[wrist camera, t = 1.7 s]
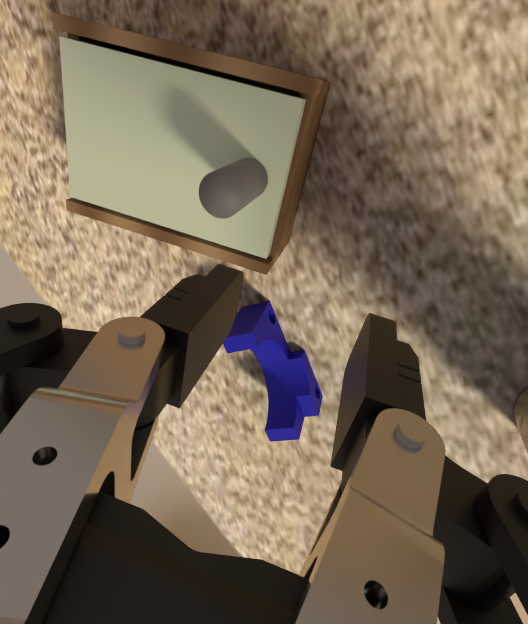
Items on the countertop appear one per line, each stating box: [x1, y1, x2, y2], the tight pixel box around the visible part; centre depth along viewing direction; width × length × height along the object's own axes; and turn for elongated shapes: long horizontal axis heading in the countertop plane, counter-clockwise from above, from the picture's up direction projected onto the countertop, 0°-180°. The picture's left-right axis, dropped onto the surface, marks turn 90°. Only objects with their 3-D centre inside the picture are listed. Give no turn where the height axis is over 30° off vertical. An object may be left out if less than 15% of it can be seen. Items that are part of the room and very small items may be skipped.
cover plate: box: [59, 36, 306, 259], centre depth 23 cm, size 15×10×6 cm, turn 78°
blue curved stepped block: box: [223, 301, 323, 441], centre depth 36 cm, size 12×4×6 cm, turn 22°
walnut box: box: [52, 12, 330, 275], centre depth 27 cm, size 16×12×7 cm
